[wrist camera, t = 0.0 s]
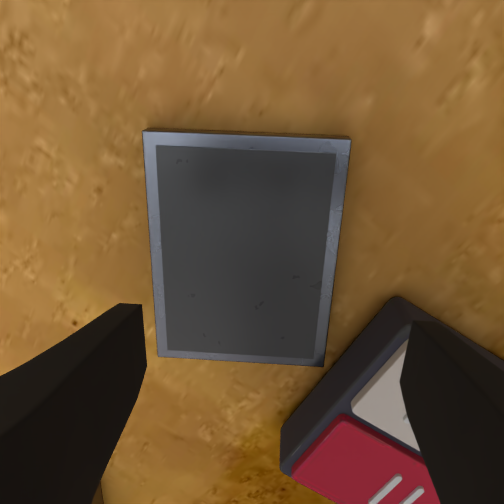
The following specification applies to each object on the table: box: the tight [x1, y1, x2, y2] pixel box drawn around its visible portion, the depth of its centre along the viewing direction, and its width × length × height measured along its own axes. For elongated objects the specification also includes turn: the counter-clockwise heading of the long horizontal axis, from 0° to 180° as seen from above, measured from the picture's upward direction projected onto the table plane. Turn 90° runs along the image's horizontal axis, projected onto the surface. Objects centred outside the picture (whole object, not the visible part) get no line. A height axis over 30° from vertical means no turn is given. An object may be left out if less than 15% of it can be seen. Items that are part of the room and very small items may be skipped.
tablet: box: [142, 128, 352, 367], centre depth 21 cm, size 12×9×1 cm
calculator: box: [280, 297, 504, 504], centre depth 23 cm, size 11×4×15 cm
